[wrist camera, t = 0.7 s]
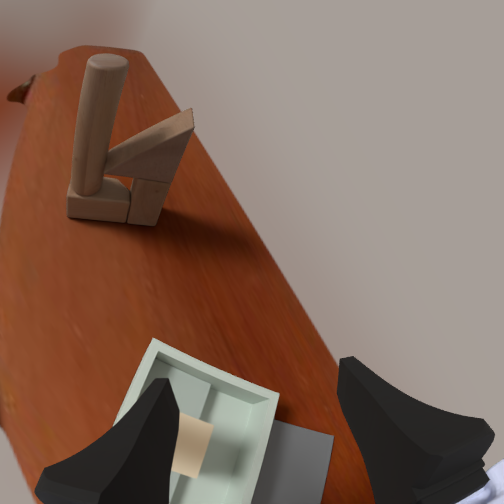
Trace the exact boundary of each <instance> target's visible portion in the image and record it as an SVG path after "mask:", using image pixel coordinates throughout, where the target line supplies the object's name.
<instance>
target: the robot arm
mask: <svg viewBox="0 0 504 504" xmlns="http://www.w3.org/2000/svg"><path fill="white" fill-rule="evenodd" d="M337 395H338V399H339V402H340V405H341V409H342V412H343V414H344V416H345V418H346V421H347V423H348V425H349V427H350V429H351V431H352V434H353V436H354V438H355V440H356V442H357V444H358V446H359V449H360V451H361V454H362V456H363V459H364V462H365V465H366V469H367V472H368V475H369V479H370V483H371V486H372V490H373V494H374V499H375V503H376V504H504V459H502V460H501V461H499V462H498V463H496V464H495V465H493V466H492V467H491V468H490V469H488V470H487V471H486V472H485V471H484V469H483V468H482V467H484V465H485V463H484V461H483V460H482V457H483V456H484V454H485V453H486V452H487V450H488V449H489V447H490V446H491V443H492V442H493V440H494V436H495V433H494V431H493V430H492V429H491V428H490V426H489V425H488V424H487V423H486V421H485V420H484V419H481V418H474V417H468V416H462V415H458V414H454V413H450V412H447V411H444V410H441V409H437V408H435V407H432V406H429V405H427V404H425V403H423V402H420V401H418V400H416V399H414V398H412V397H410V396H408V395H407V394H405V393H403V392H401V391H400V390H398V389H397V388H395V387H393V386H392V385H390V384H389V383H387V382H386V381H385V380H383V379H382V378H381V377H379V376H378V375H376V374H375V373H374V372H373V371H371V370H370V369H369V368H367V367H366V366H365V365H364V364H362V363H361V362H360V361H359V360H357V359H356V358H355V357H354V356H351V357H346V358H341V359H340V363H339V375H338V386H337ZM179 418H180V410H179V407H178V404H177V401H176V398H175V395H174V392H173V389H172V387H171V383H170V380H169V378H155V379H154V380H153V381H152V383H151V384H150V385H149V386H148V388H147V389H146V390H145V391H144V393H143V394H142V395H141V396H140V398H139V399H138V400H137V401H136V402H135V404H134V405H133V406H132V407H131V408H130V409H129V411H128V412H127V413H126V414H125V415H124V416H123V417H122V418H121V419H120V420H119V421H118V422H117V423H116V424H115V425H114V426H113V427H112V428H111V429H110V430H109V431H108V432H106V433H105V434H104V435H103V436H102V437H100V438H99V439H98V440H96V441H95V442H93V443H92V444H91V445H89V446H88V447H86V448H85V449H83V450H82V451H80V452H78V453H77V454H75V455H73V456H71V457H69V458H67V459H65V460H63V461H61V462H58V463H56V464H54V465H51V466H49V467H46V468H44V470H43V472H42V474H41V476H40V479H39V481H38V483H37V486H36V488H35V494H36V496H37V497H38V498H39V499H40V500H41V501H42V502H43V503H44V504H169V491H170V475H171V469H172V463H173V458H174V453H175V448H176V442H177V437H178V432H179Z"/></svg>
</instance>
